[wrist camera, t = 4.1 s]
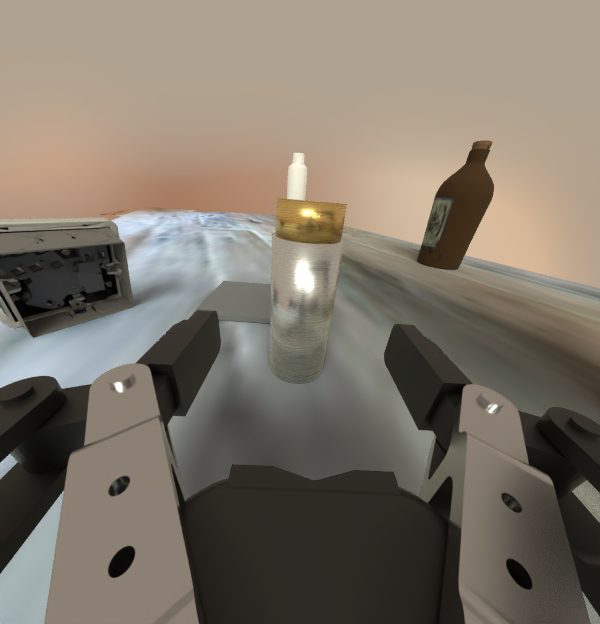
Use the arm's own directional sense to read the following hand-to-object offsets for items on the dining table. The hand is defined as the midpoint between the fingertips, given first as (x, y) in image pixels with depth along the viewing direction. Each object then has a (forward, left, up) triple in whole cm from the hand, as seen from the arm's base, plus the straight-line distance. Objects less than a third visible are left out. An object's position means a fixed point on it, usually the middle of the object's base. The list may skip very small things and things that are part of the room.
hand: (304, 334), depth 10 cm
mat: (+6, -17, -7) cm, 19 cm away
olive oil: (-35, -47, -7) cm, 59 cm away
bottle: (+3, -100, -7) cm, 100 cm away
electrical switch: (+21, -11, -7) cm, 24 cm away
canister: (0, -6, -7) cm, 9 cm away
